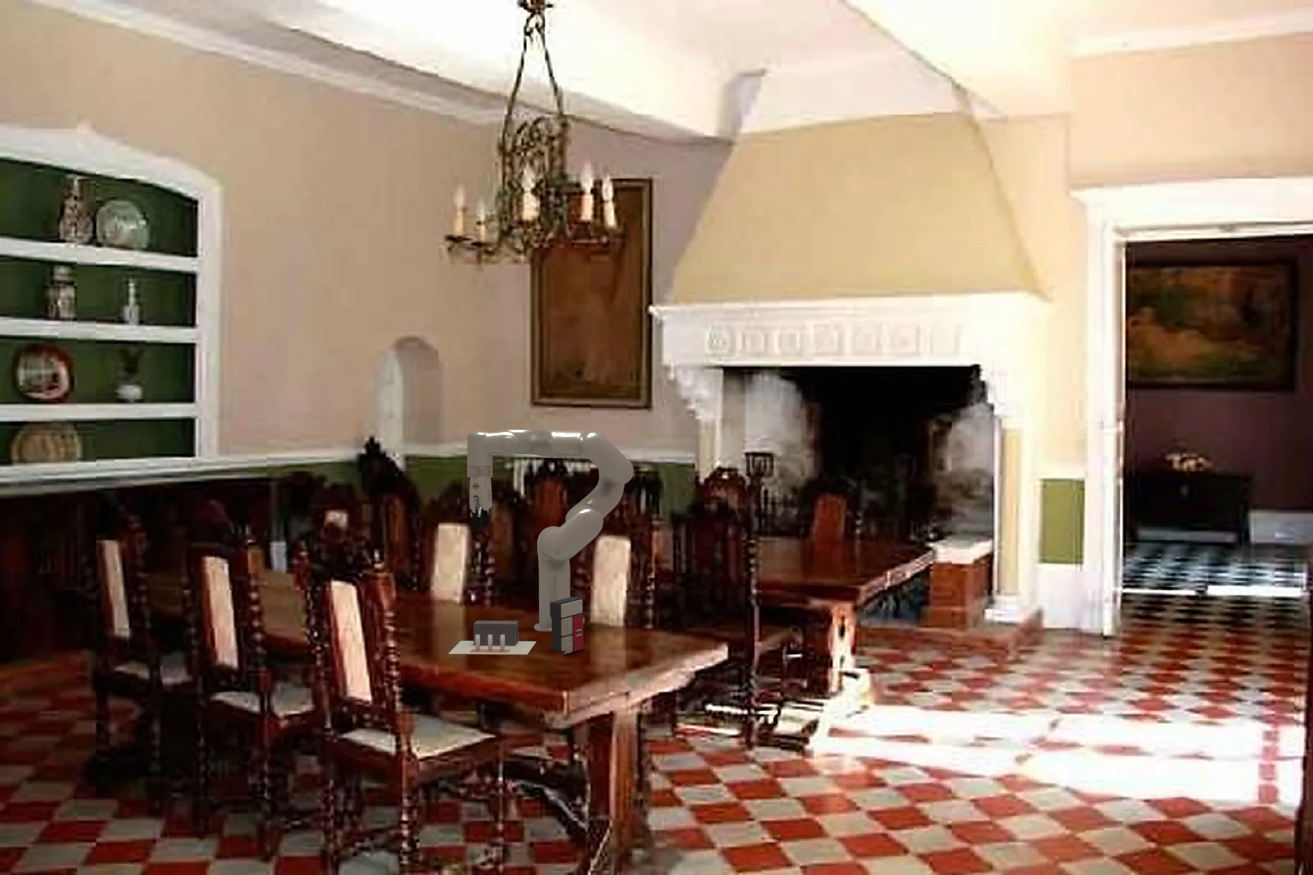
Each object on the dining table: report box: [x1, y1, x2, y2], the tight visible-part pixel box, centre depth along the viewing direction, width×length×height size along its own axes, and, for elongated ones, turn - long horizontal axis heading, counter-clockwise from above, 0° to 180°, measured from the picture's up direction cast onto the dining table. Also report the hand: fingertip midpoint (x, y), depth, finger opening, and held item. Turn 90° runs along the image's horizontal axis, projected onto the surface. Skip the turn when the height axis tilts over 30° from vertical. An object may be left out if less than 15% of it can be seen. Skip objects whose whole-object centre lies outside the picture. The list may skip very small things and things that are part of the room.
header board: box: [448, 635, 537, 661], centre depth 394 cm, size 22×18×6 cm
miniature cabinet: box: [550, 596, 584, 656], centre depth 393 cm, size 11×4×15 cm, turn 148°
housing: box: [473, 620, 519, 646], centre depth 398 cm, size 12×5×6 cm, turn 87°
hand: (479, 528), depth 420 cm, fingers open, 9 cm apart
